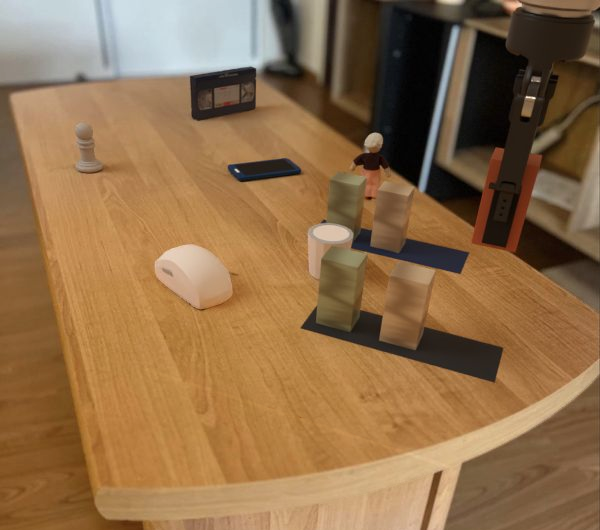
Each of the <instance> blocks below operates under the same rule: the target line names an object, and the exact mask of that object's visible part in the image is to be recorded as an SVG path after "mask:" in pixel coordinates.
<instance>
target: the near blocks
mask: <svg viewBox="0 0 600 530" xmlns="http://www.w3.org/2000/svg"><path fill="white" fill-rule="evenodd" d="M368 255H369V254H368V253H366V252H362V251H358V250H354V249H351V250H348V249H344V248H340V247H336V246H331V247H330V248H329V250H328V251H327V252H326V253H325V255H324V256H323V257H322V258H321V267H320V279H318V294H317V304H316V306H317V316H316V323H318V324H321V325H325V326H328V327H332V328H336V329H339V330H343V331H347V332H351V331H352V329H353V327H354V326H355V324H356V322H357V321H358V319H359V317H360V310H362V309H361V307H362V301H363V292H364V285H365V277H366V272H367V264H368ZM436 273H437V270H436V269H434V268H430V267H426V266H421V265H417V264H413V263H409V262H404V261H400V260H398V261H397V262H396V264H395V265H394V267H393V268H392V270H391V272H390V273H389V275H388V282H387V287H386V293H385V300H384V307H383V313H382V316H383V319H382V325H381V331H380V338H379V341H383V342H386V343H390V344H394V345H397V346H401V347H405V348H408V349H412V350H416V349H417V346H418V344H419V342H420V340H421V337H422V335H423V331H424V327H426V321H427V316H428V310H429V307H430V302H431V297H432V294H433V293H432V292H433V288H434V283H435V278H436Z"/></svg>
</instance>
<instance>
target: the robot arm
mask: <svg viewBox="0 0 600 530" xmlns="http://www.w3.org/2000/svg"><path fill="white" fill-rule="evenodd" d="M517 1H518V3H520V4H521V6H518V7H516V8H515V10H513V11H512V13H511V17H510V23H509V27H508V32H507V36H506V41H505V48H506V50H507V51H508V52H509V53H510V54H512V55H515V56H517V57H524V58H526V59H527V60H528V62H527V65H526V68H525V69H518V74H516V77H515V80H514V83H513V87H512V93H513V98H512V103H511V106H510V110H509V113H508V121H509V122H510V126H509V129H508V133H507V137H506V142H505V145H504V148H503V149H504V153H503V157H502V162H501V166H500V170H499V174H498V178H497V181H496V182H495V183H493V182H490V184H489V188H488V189H494V194H493V198H492V202H491V206H490V210H489V214H488V218H487V222H486V226H485V230H484V234H483V239H482V243H485V244H490V245H494V246H499V247H504V248H506V245H507V241H508V238H509V234H510V230H511V227H512V223H513V219H514V216H515V212H516V208H517V204H518V201H519V197H520V193H521V190H522V185H521V184H522V180H523V177H524V173H525V169H526V166H527V162H528V158H529V155H530V153H532V149H533V144H534V142H535V138H536V134H537V131H538V128H539V127H541V126H543V124H544V122H545V119H546V115H547V112H548V108H549V105H550V101H551V100H552V99H553V98H554V96H555V93H556V90H557V89H556V88H557V85H558V82H559V78H560V74H556V73H554V69H553V67H554V63H556V62H562V63H571V62H575V61H576V62H577V61H579V60H581V59H583V58H584V57H585V55H586V53H587V50H588V48H589V44H590V40H591V37H592V33H593V31H594V27H595V23H596V19H595V17H594V15H593V14H592V12H593V11H594V12H595V11H596V10H597V9H599V8H600V0H517Z"/></svg>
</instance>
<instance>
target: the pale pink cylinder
mask: <svg viewBox="0 0 600 530" xmlns="http://www.w3.org/2000/svg"><path fill="white" fill-rule="evenodd" d="M320 223H321V222H320ZM320 223H317V224H314V225H312V226H310V227H309V228H308V230H307V237H308V238H307V250H308V252H307V253H308V255H307V256H308V257H307V258H308V272H309V274H310V275H311V276H312V277H313V278H314V279H316V280H319V279H320V267H321V258H322V257H323V256H324V255H325V253H326V252H327V251H328V250H329V248H330V247H331V246H336V247H340V248H344V249H348V250H352V248H351V245H352V240H353V235H354V233H353V232H352V231H351V229H349V228H347V227H345V226H342V225H339V224H333V223H321V224H320Z"/></svg>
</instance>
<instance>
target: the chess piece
mask: <svg viewBox="0 0 600 530" xmlns="http://www.w3.org/2000/svg"><path fill="white" fill-rule="evenodd" d="M74 133H75V136H76V138H77V139H76V143H77V145H76V146H77V148H78V149H79V154H80V159H79V160H78V161H77V162H76V163H75V170H77V171H78V172H81V173H86V174H89V173H97V172H100V171H101V170H103V168H104V163H103V162H102V161H101V160H99V159H97V158H96V153H95V147H96V144H95V139H94V138H93V136H94V130H93V128H92V126H91V125H90V123H88V122H79V123H77V124H76V125H75V128H74Z"/></svg>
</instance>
